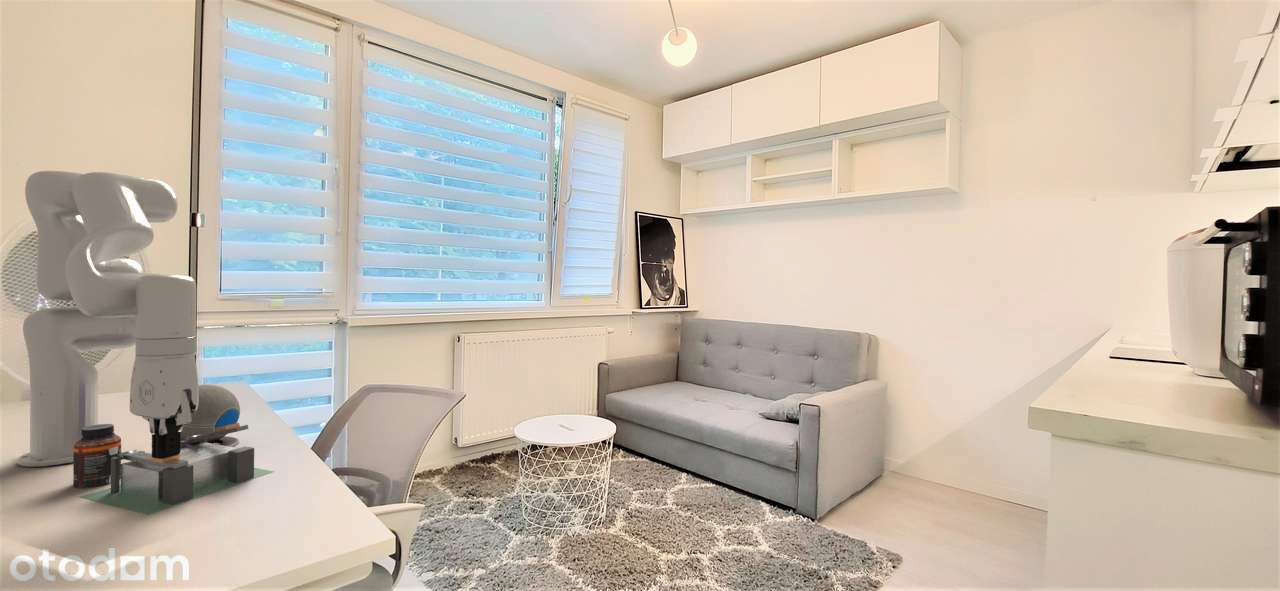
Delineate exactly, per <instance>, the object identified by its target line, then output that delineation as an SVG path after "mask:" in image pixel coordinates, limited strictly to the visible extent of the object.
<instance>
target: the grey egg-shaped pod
mask: <svg viewBox="0 0 1280 591" xmlns="http://www.w3.org/2000/svg"><path fill="white" fill-rule="evenodd" d="M198 390H199V399H198V408H197V410H196V411H195V412H194V413H192V414H191V418H192V421H191V422H190V423H186V424H183V430H182V431H181V438H180V441H185V438H186V437H190V436H194V435H199V434H200V435H203V434H208V433H212V432H215V428H219V427H223V426H227V425H232V424H236V423H239V422H238V421H239V419H240V414H241V407H240V403H239V400H238V399H237V396H235V394H233V393H232V392H231V391H230V390H229V389H227V388H225V387H222V386H220V385H215V384H198ZM176 413H177V412H176ZM227 435H228V434H224V435H220V436H215V437H210V438H207V443H211V444H217V443H220V444H218V445H223V446H228V447H234V448H236V447H237V446H238V445H239V444H240V440H239V438H236V437H233V436H227ZM197 444H200V441H196V442H192V443H188V444H187V447H190V446H193V445H197Z"/></svg>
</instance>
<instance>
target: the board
mask: <svg viewBox="0 0 1280 591" xmlns="http://www.w3.org/2000/svg"><path fill="white" fill-rule="evenodd" d="M205 442H206V443H207V438H206V439H201V440H200V444H201V443H205ZM186 447H187V441H180V449H182V448H186ZM237 448H238V449H234V450H230V451H228V479H226V480H223V481H220V482H217V483H214V484H211V485H208V486H205V487H202V488H199V489H196V490H193V465H190V464H188V466H185V467H182V468H178V469H175V470H173V469H169V468H165V469H163V500H162V501H159V502H158V501H153V500H149V499H145V498H141V497H137V496H133V495H128V494H124V493H121V479H120V458H119V457H113V458H111V484H110V487H109V488H106V489H101V490H98V491H95V492H91V493H87V494H84V495H80V496H79V498H81V499H84V500H89V501H93V502H97V503H100V504H104V505H108V506H112V507H116V508H120V509H124V510H129V511H131V512H136V513H140V514H143V515H151V514H153V513H156V512H160V511H162V510H167V509H170V508H172V507H174V506H177V505H181V504H183V503H187V502H190V501H192V500H195V499H198V498H202V497H205V496H207V495H210V494H213V493H216V492H218V491H222V490H224V489H225V490H226V489H228V488H230V487H234V486H236V485H239V484H243V483H245V482H248V481H251V480H252V481H253V480H254V479H257V478H260V477H264V476H266V475H269V474H272V473H274V472H275V471H274V470H268V469H263V468H260V467H259V468H257V467H255V447H250V446H242V447H237ZM139 452H144V453H146V452H145V451H144V450H139Z"/></svg>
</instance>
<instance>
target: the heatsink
mask: <svg viewBox="0 0 1280 591" xmlns="http://www.w3.org/2000/svg"><path fill="white" fill-rule="evenodd" d="M238 448H239V447H228V446H223V445H219V444H218V443H213V444H211V443H206V442H205V443H201V444H197V445H193V446H190V447H186V448H182V449H180V453H179V455H180V460H186V461H188V464H190V465H193V490H196V489H199V488H202V487H205V486H208V485H211V484H214V483H217V482H220V481H223V480H226V479H228V451H230V450H234V449H238ZM163 469H165V468H164V467H159V466H154V465H149V464H144V463H139V462H134V461H127V462H123V463H122V462H121V479H120V485H121V493H124V494H128V495H133V496H137V497H141V498H145V499H149V500H153V501H158V502H159V501H162V500H163Z"/></svg>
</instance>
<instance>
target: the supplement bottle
mask: <svg viewBox="0 0 1280 591" xmlns="http://www.w3.org/2000/svg"><path fill="white" fill-rule="evenodd" d="M81 435H82V436H83V437H82V439H80V440H78V441H77V442H76V443H75V444H74V448H73V451H74V453H73V462H72V464H73V466H72V467H73V468H72V470H73V476H72V477H73V478H72V482H73V484H72V486H73V488H75V489H92V488H98V487H103V486H108V485H111V458H113V457H118V454H119V453H122V438H121V437H120V436H119V435H117V434H116V433H115V426H114V424H113V423H101V424H99V423H98V425H92V426H88V427H84V428H82V434H81ZM121 464H122V460H120V480H121Z"/></svg>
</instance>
